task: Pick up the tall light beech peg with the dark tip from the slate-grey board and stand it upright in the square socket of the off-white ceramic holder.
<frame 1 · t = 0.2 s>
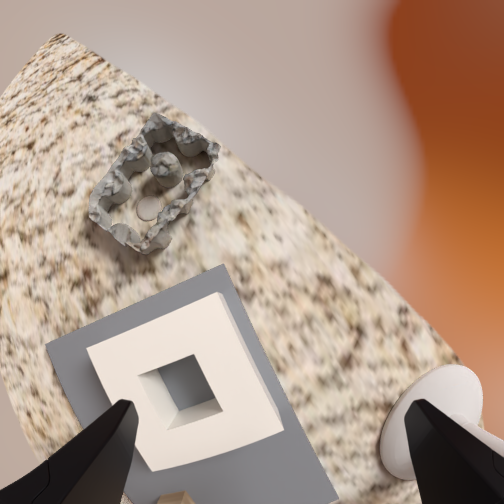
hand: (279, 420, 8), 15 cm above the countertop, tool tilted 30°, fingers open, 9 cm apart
egg carton: (159, 192, 25), on the countertop
board: (188, 438, 21), on the countertop
candlestick: (434, 424, 21), on the countertop
holder: (190, 379, 21), resting on board
peg: (180, 502, 19), point 1 cm above the countertop, touching board
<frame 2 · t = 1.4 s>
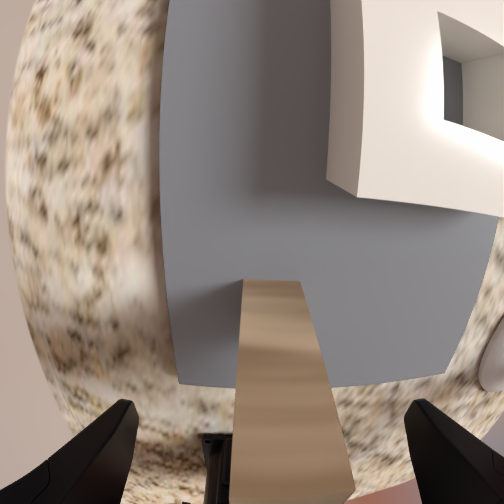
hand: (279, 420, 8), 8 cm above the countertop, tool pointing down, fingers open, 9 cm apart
board: (361, 180, 13), on the countertop
holder: (431, 89, 10), resting on board
peg: (270, 304, 14), point 1 cm above the countertop, touching board
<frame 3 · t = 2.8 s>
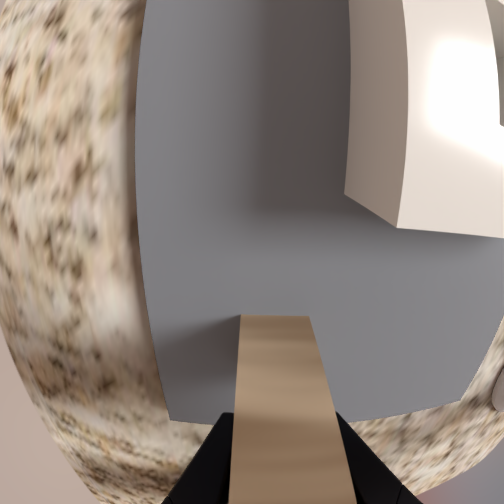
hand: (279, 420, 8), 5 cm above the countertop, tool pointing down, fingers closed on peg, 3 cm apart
board: (384, 194, 10), on the countertop
holder: (465, 86, 8), resting on board
peg: (272, 342, 12), point 1 cm above the countertop, touching board, gripper
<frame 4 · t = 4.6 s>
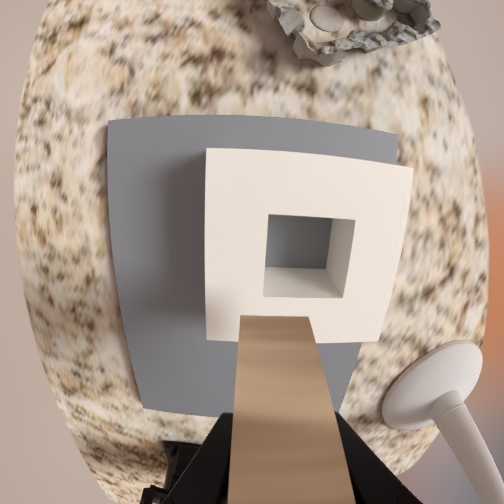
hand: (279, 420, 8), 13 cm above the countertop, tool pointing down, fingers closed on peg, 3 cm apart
egg carton: (344, 13, 14), on the countertop
board: (244, 299, 21), on the countertop
candlestick: (433, 387, 25), on the countertop
holder: (297, 235, 18), resting on board
peg: (272, 342, 12), point 9 cm above the countertop, touching gripper
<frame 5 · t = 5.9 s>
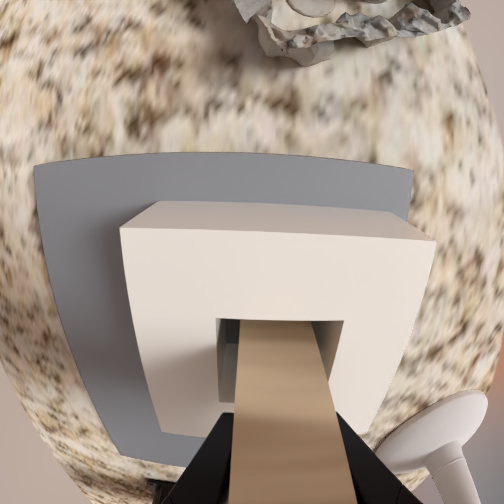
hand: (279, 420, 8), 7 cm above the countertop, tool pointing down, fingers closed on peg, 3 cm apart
board: (212, 369, 16), on the countertop
candlestick: (432, 433, 21), on the countertop
holder: (270, 309, 14), resting on board
peg: (272, 342, 12), point 3 cm above the countertop, touching gripper
when the fingers open (7 cm above the countertop, at t = 6.6 s): peg drops 2 cm, resting on board.
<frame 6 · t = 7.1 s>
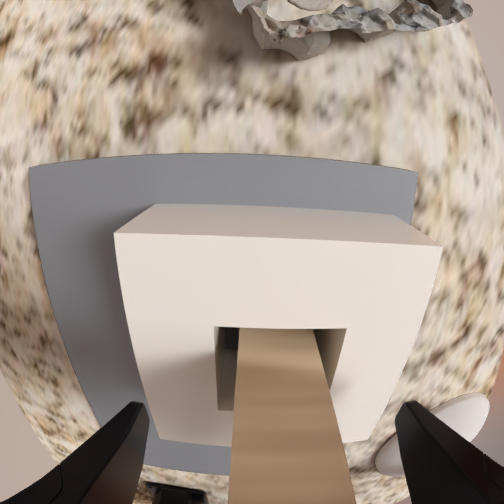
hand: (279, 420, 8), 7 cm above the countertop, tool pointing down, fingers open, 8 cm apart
board: (212, 374, 16), on the countertop
candlestick: (433, 436, 20), on the countertop
holder: (271, 315, 13), resting on board
peg: (269, 314, 13), point 1 cm above the countertop, touching board
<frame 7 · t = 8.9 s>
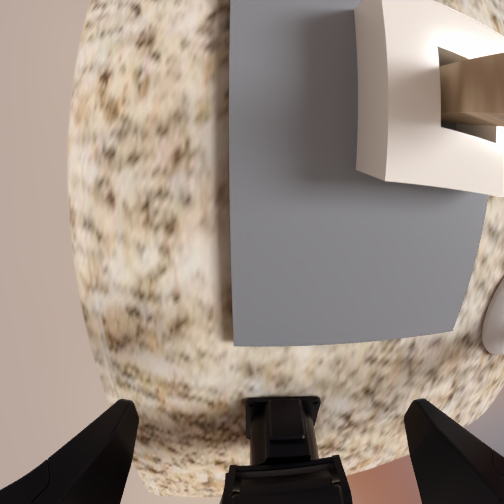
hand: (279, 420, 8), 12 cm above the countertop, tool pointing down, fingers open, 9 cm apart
board: (380, 170, 16), on the countertop
holder: (431, 99, 14), resting on board
peg: (430, 98, 14), point 1 cm above the countertop, touching board
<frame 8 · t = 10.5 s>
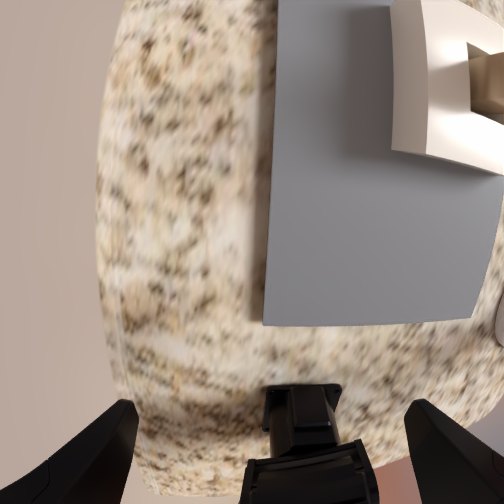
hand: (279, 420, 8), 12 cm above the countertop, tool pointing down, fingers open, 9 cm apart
board: (410, 153, 16), on the countertop
holder: (456, 91, 14), resting on board
peg: (455, 91, 14), point 1 cm above the countertop, touching board
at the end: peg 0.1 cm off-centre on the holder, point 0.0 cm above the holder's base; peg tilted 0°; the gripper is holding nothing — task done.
